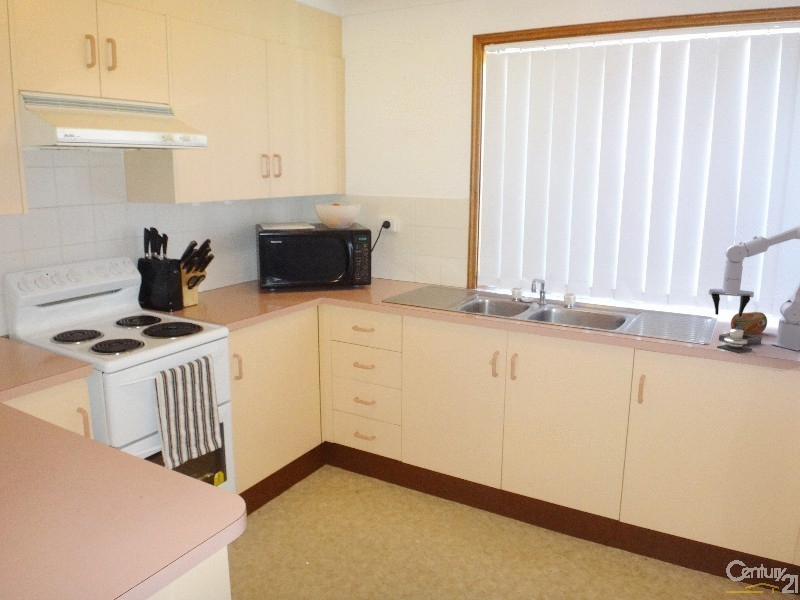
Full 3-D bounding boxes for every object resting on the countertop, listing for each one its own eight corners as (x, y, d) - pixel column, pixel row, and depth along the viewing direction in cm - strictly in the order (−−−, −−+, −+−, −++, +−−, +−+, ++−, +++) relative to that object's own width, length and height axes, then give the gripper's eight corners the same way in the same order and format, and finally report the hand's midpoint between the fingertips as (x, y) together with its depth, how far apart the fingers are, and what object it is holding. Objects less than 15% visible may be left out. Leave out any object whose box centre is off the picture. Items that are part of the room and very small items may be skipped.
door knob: (750, 348, 226) (753, 331, 225) (737, 350, 223) (740, 333, 221) (731, 343, 232) (734, 326, 231) (718, 345, 229) (721, 328, 228)
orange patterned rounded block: (734, 335, 246) (736, 314, 244) (727, 333, 249) (730, 312, 247) (766, 333, 250) (769, 312, 248) (760, 331, 253) (762, 310, 251)
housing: (761, 343, 235) (761, 337, 235) (744, 346, 230) (745, 341, 230) (734, 336, 244) (735, 331, 243) (718, 340, 239) (719, 334, 238)
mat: (752, 350, 226) (752, 348, 226) (738, 353, 222) (738, 351, 222) (730, 344, 232) (730, 343, 232) (717, 347, 228) (717, 346, 228)
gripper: (753, 278, 236) (748, 314, 238) (709, 275, 240) (705, 311, 243) (756, 281, 229) (751, 318, 232) (711, 278, 234) (707, 315, 237)
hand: (728, 315), depth 237 cm, fingers open, 7 cm apart
